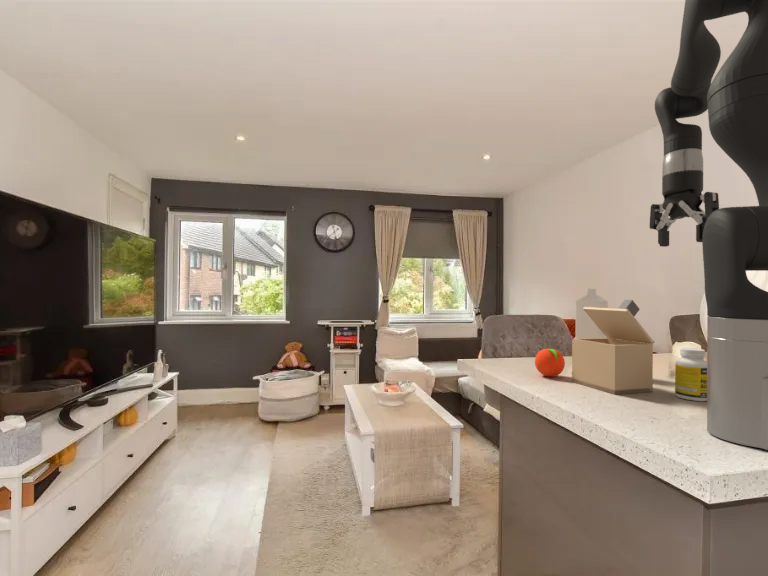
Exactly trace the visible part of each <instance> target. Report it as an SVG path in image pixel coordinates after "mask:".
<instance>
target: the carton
mask: <svg viewBox="0 0 768 576" xmlns="http://www.w3.org/2000/svg"><path fill="white" fill-rule="evenodd" d="M571 342H572V344H571V347H572V350H571V360H572V361H571V382H572V383H576V384H578V385H581V386H585V387H589V388H591V389H596V390H598V391H601V390H602V392H605V393H609V394H611V395H626V394H639V393H652V392H653V387H654V386H653V379H654V378H653V377H654V376H653V374H654V373H653V372H654V371H653V368H654V367H653V366H654V365H653V364H654V361H653V359H654V356H653V355H654V349H653V346H654V343H653V344H648V343H641V342H633V341H626V340H619V339H612V338H586V339H575V338H572V340H571Z"/></svg>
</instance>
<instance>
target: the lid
mask: <svg viewBox="0 0 768 576" xmlns="http://www.w3.org/2000/svg"><path fill="white" fill-rule="evenodd" d="M640 309H641V308H640V307H639V306H638V305H637V304H636V302H635V301H634V300H633V299H624V300H623V302H621V304H620V305H619V307H618V308H614V307H613V308H611V307H610V308H609V307H608V308H595V307H584V308H583V310H584V311H585V312H586V313H587V315H588V316H589V317H590V318H591V319H592V321H593V322H594V323H595V324H596V325H597V326H598V328H599V329H600V330H601V331H602V332H603V334H604V335H605V336H606V337H607V338H610V339H618V340H625V341H632V342H639V343H647V344H653V345H654V343H655V341H654V340H653V339H652V337H651V335H650V334H649V333H648V332H647V331H646V330H645V328H644V327H643V326H642V325H641V324H640V322H639V321H638V320H637V318H636V315H637V314H638V312H639V311H640Z"/></svg>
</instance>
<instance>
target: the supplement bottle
mask: <svg viewBox="0 0 768 576" xmlns="http://www.w3.org/2000/svg"><path fill="white" fill-rule="evenodd" d="M679 354H680V356H681V357H680V358H678V359H676V361H675V380H674V381H675V383H674V387H675V388H674V394H675V396H676V397H677V398H680V399H683V400H687V401H688V400H689V401H693V402H707V360H705V357H706V350H705V349H702V348H693V347H681V348H679Z"/></svg>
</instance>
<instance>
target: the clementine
mask: <svg viewBox="0 0 768 576" xmlns="http://www.w3.org/2000/svg"><path fill="white" fill-rule="evenodd" d="M565 361H566V360H565V358H564V356H563V355H562V354H561V352H560V351H559V350H557V349H553V348H551V347H549V348H543V349H542V350H539V351H538V352H537V354H536V356H535V357H534V365H535V367H536V370H537V371H538V372H539V373H540V374H541V375H543V376H545V377H550V378H551V377H552V378H553V377H556V376H558V375H560V374H562V372H563V371H564V369H565V365H566V363H565Z"/></svg>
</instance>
